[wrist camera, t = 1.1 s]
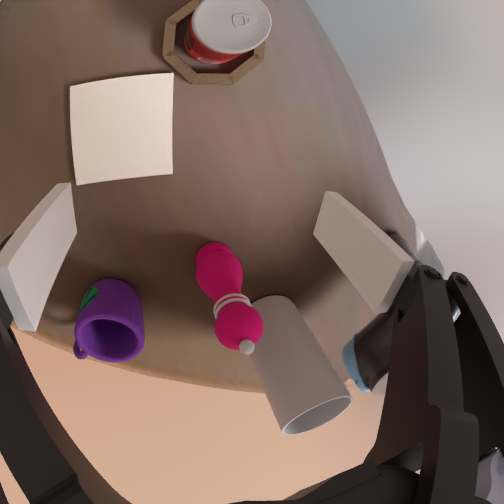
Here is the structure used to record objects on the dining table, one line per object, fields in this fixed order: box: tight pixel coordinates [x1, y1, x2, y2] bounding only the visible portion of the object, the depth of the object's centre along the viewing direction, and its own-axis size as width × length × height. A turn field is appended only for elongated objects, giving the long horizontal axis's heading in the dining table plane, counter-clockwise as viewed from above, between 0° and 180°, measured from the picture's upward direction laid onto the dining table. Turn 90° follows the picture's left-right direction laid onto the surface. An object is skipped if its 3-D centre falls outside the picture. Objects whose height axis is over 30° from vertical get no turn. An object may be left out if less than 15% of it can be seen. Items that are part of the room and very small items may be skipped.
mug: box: [73, 279, 144, 362], centre depth 40 cm, size 17×11×10 cm, turn 121°
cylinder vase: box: [250, 295, 353, 435], centre depth 47 cm, size 12×12×25 cm
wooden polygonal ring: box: [162, 0, 265, 85], centre depth 27 cm, size 13×13×2 cm
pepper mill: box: [195, 242, 263, 354], centre depth 38 cm, size 7×7×20 cm
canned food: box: [184, 0, 272, 64], centre depth 24 cm, size 8×8×11 cm
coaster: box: [70, 73, 174, 185], centre depth 30 cm, size 14×14×1 cm
